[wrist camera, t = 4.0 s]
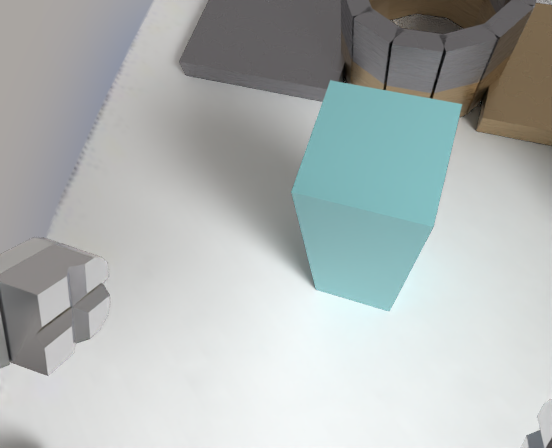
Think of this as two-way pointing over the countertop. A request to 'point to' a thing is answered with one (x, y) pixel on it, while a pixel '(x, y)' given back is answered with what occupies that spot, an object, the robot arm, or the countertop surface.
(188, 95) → the countertop surface
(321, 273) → the teal square block
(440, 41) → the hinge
